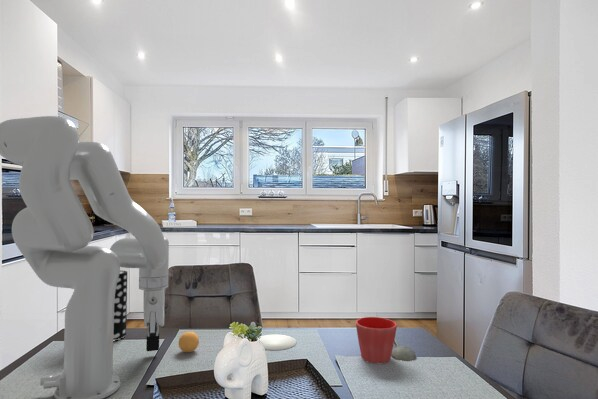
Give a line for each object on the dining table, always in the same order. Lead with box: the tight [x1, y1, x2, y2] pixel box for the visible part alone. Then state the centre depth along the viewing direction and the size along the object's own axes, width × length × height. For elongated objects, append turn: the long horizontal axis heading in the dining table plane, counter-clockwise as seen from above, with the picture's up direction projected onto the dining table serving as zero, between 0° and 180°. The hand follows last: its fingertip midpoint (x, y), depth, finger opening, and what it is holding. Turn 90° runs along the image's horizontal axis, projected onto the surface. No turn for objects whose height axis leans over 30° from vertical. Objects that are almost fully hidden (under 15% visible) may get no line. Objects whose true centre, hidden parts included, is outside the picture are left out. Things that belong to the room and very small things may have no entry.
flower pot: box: [355, 316, 398, 364], centre depth 104 cm, size 11×11×10 cm
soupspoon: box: [391, 338, 417, 362], centre depth 113 cm, size 22×3×7 cm
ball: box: [178, 331, 200, 353], centre depth 107 cm, size 6×6×6 cm
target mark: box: [259, 334, 297, 351], centre depth 115 cm, size 13×13×1 cm
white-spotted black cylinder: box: [113, 270, 128, 339], centre depth 118 cm, size 8×8×20 cm
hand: (152, 349), depth 104 cm, fingers closed
